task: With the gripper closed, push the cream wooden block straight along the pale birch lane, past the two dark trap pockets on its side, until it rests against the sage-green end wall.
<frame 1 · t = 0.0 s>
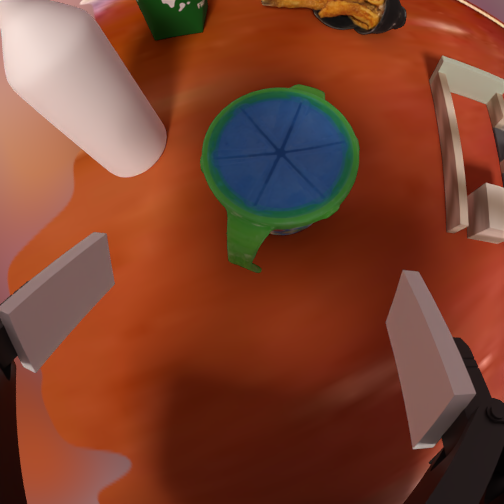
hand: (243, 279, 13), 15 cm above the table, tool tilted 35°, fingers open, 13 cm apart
fried shrimp in bowl: (336, 22, 34), on the table
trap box: (475, 154, 28), on the table
cream block: (481, 220, 27), on the table
milk carton: (182, 23, 36), on the table
bottle: (135, 146, 33), on the table
snack cup: (282, 199, 30), on the table
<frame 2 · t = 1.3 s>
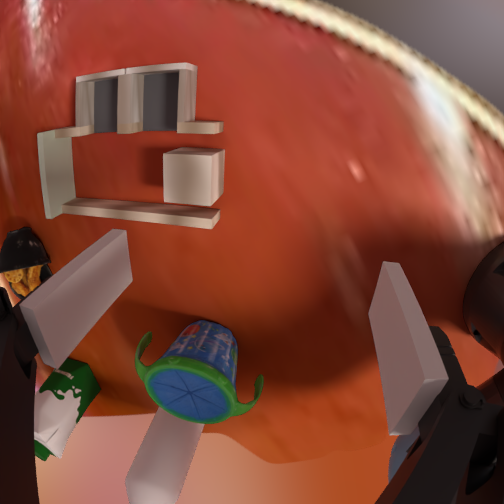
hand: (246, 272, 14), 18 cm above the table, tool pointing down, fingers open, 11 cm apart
fried shrimp in bowl: (45, 273, 42), on the table
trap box: (133, 166, 32), on the table
cream block: (202, 169, 31), on the table
milk carton: (82, 372, 51), on the table
bottle: (186, 405, 49), on the table
snack cup: (211, 339, 41), on the table
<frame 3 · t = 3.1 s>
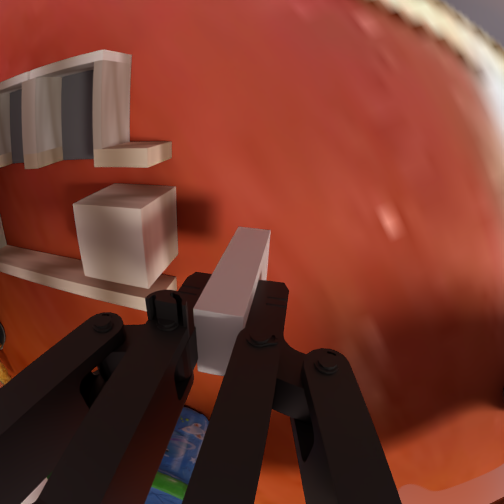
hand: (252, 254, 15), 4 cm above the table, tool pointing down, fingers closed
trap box: (58, 210, 21), on the table
cream block: (146, 217, 20), on the table
snack cup: (184, 420, 29), on the table
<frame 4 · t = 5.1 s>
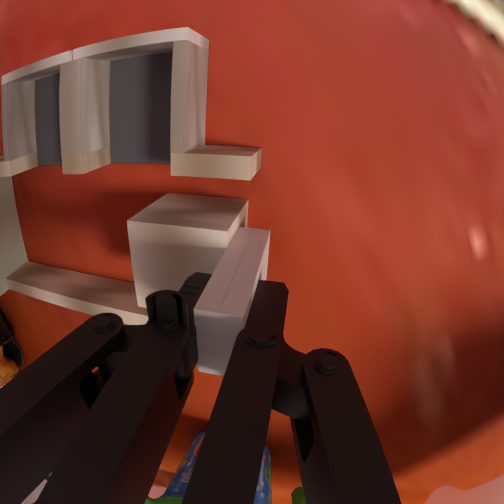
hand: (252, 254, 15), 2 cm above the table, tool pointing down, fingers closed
fried shrimp in bowl: (13, 343, 29), on the table
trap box: (101, 224, 19), on the table
cream block: (206, 234, 18), on the table, touching gripper
snack cup: (234, 442, 27), on the table
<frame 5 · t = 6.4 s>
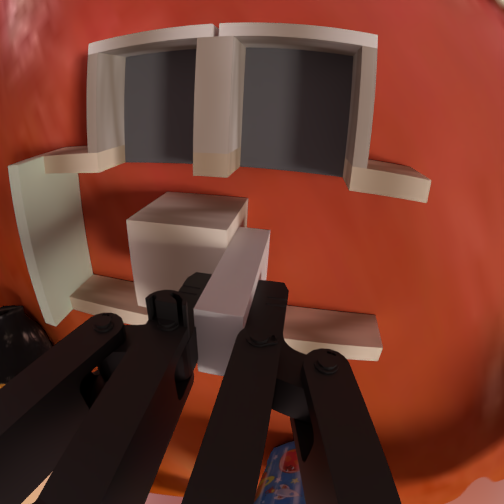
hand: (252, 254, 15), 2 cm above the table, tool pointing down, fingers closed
fried shrimp in bowl: (52, 361, 28), on the table
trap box: (212, 234, 17), on the table
cream block: (206, 233, 18), on the table, touching gripper
snack cup: (309, 451, 26), on the table
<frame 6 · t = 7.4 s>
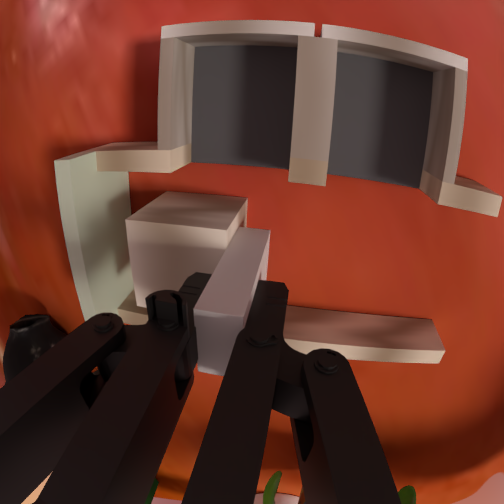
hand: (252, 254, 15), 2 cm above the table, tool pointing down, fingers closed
fried shrimp in bowl: (78, 371, 27), on the table
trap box: (284, 242, 17), on the table
cream block: (205, 233, 17), on the table, touching gripper
bottle: (278, 499, 34), on the table
snack cup: (347, 454, 26), on the table
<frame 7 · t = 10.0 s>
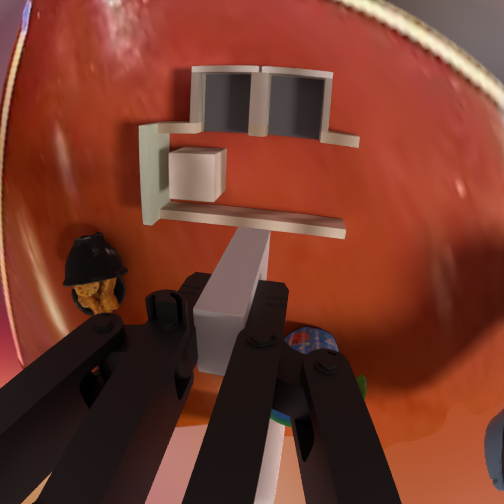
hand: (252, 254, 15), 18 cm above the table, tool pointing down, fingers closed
fried shrimp in bowl: (113, 283, 42), on the table
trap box: (251, 171, 32), on the table
cream block: (205, 167, 32), on the table
bottle: (262, 411, 49), on the table
snack cup: (309, 345, 41), on the table
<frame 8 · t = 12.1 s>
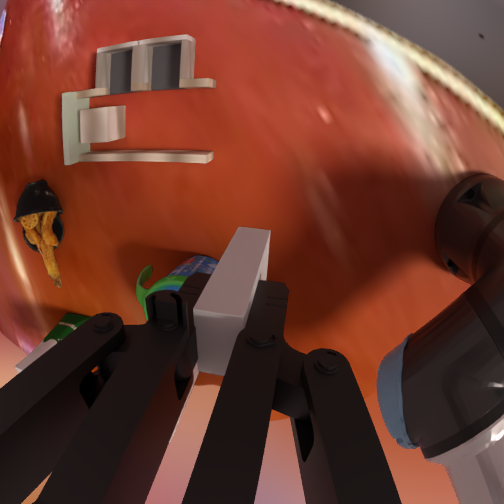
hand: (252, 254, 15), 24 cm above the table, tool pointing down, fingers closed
fried shrimp in bowl: (56, 226, 47), on the table
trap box: (141, 120, 37), on the table
cream block: (112, 122, 38), on the table
milk carton: (84, 327, 57), on the table
snack cup: (206, 276, 46), on the table
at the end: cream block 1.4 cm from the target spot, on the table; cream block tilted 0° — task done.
